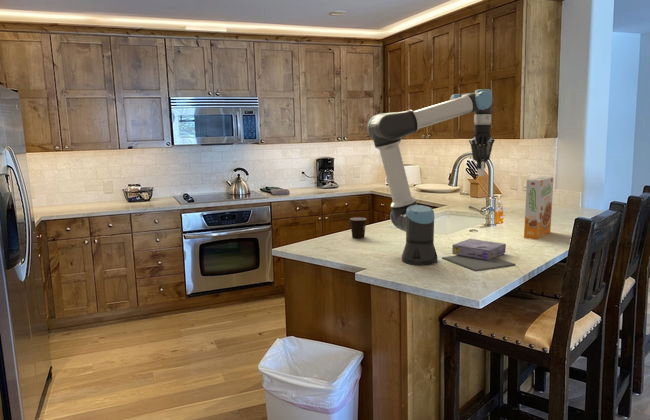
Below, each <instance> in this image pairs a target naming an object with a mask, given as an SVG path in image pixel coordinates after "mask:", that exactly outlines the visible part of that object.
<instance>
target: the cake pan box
mask: <svg viewBox="0 0 650 420" xmlns="http://www.w3.org/2000/svg"><path fill="white" fill-rule="evenodd" d="M506 246H507V245H506V243H501V242H496V241H487V240H481V239H475V238H474V239H473V238H468V239H465V240H462V241H459V242H457V243H455V244H452V248H451V249H452V251H451V253H452V255H454V256H456V255H461V256H467V257H474V258H480V259H486V260H490V259H493V258H495V257H496V258H498V257H499V256H501V255H504V254H506Z"/></svg>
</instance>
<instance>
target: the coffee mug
mask: <svg viewBox="0 0 650 420" xmlns="http://www.w3.org/2000/svg"><path fill="white" fill-rule="evenodd" d="M349 220H350V230H351V238H352V239H354V238H355V239H356V240H362V239H365V235H366V234H365V233H366V227H367V218H365V217H351V218H349ZM361 238H362V239H361ZM355 239H354V240H355Z"/></svg>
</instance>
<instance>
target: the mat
mask: <svg viewBox="0 0 650 420" xmlns="http://www.w3.org/2000/svg"><path fill="white" fill-rule="evenodd" d="M441 259H442V260H445V261H447V262H450V263H452V264H455V265H458V266H459V267H463V268H465V269H468V270H471V271H473V272H479V271H486V270H491V269H492V270H493V269H500V268H505V267H506V268H507V267H513V266H516V263H514V262H511V261H508V260H505V259H502V258H499V257H495V258H493V259H490V260H486V259H480V258H474V257H467V256H461V255H451V256H450V255H448V256H442V257H441Z"/></svg>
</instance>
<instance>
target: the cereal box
mask: <svg viewBox="0 0 650 420" xmlns="http://www.w3.org/2000/svg"><path fill="white" fill-rule="evenodd" d="M553 191H554V176H541V175H540V176H537V177H533V178H529V179H528V178H527V179H526V190H525V208H524V209H525V211H524V228H523V229H524V230H523V231H524V233H523V238H524V239H529V238H531V239H532V240H538V239H540V238H542V237H543V235H544V236H545V234H546V235H548V234H550V233H551V227H552V208H553V195H554V194H553ZM549 232H550V233H549ZM547 233H548V234H547ZM541 236H542V237H541ZM539 237H540V238H539ZM531 239H530V240H531Z"/></svg>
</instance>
